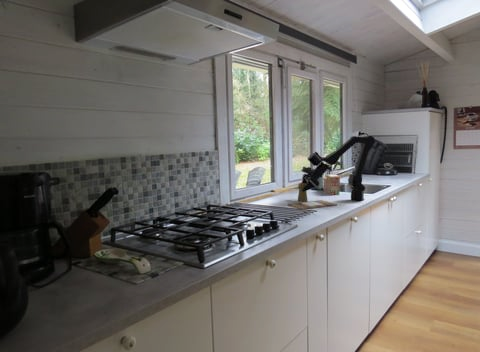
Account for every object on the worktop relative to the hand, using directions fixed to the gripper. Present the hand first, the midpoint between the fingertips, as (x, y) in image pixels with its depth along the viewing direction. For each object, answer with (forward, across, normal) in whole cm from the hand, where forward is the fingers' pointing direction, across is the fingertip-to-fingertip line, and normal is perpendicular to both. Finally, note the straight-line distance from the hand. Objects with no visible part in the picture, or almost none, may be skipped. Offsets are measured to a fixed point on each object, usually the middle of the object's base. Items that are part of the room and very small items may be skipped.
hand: (300, 189), depth 220 cm
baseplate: (+2, +13, +7) cm, 15 cm away
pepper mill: (+4, 0, +6) cm, 7 cm away
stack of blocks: (-16, -31, +26) cm, 43 cm away
